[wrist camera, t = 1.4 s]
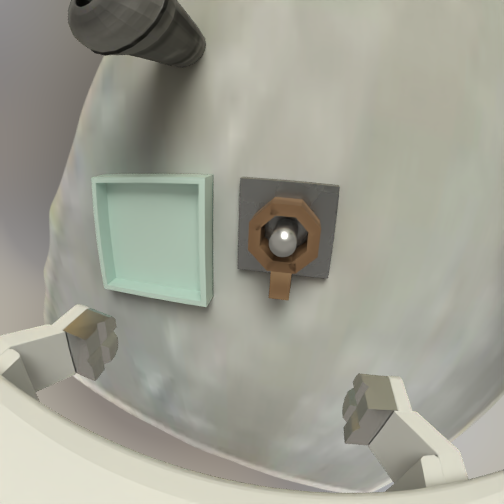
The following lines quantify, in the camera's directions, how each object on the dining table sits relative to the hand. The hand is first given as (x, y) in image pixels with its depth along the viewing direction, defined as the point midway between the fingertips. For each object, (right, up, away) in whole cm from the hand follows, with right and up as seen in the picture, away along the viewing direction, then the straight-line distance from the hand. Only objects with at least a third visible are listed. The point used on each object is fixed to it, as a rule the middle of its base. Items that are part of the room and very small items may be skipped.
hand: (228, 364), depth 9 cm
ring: (+4, +4, +19) cm, 20 cm away
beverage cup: (-6, +24, +15) cm, 29 cm away
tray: (-10, +5, +23) cm, 25 cm away
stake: (+4, +6, +20) cm, 21 cm away
